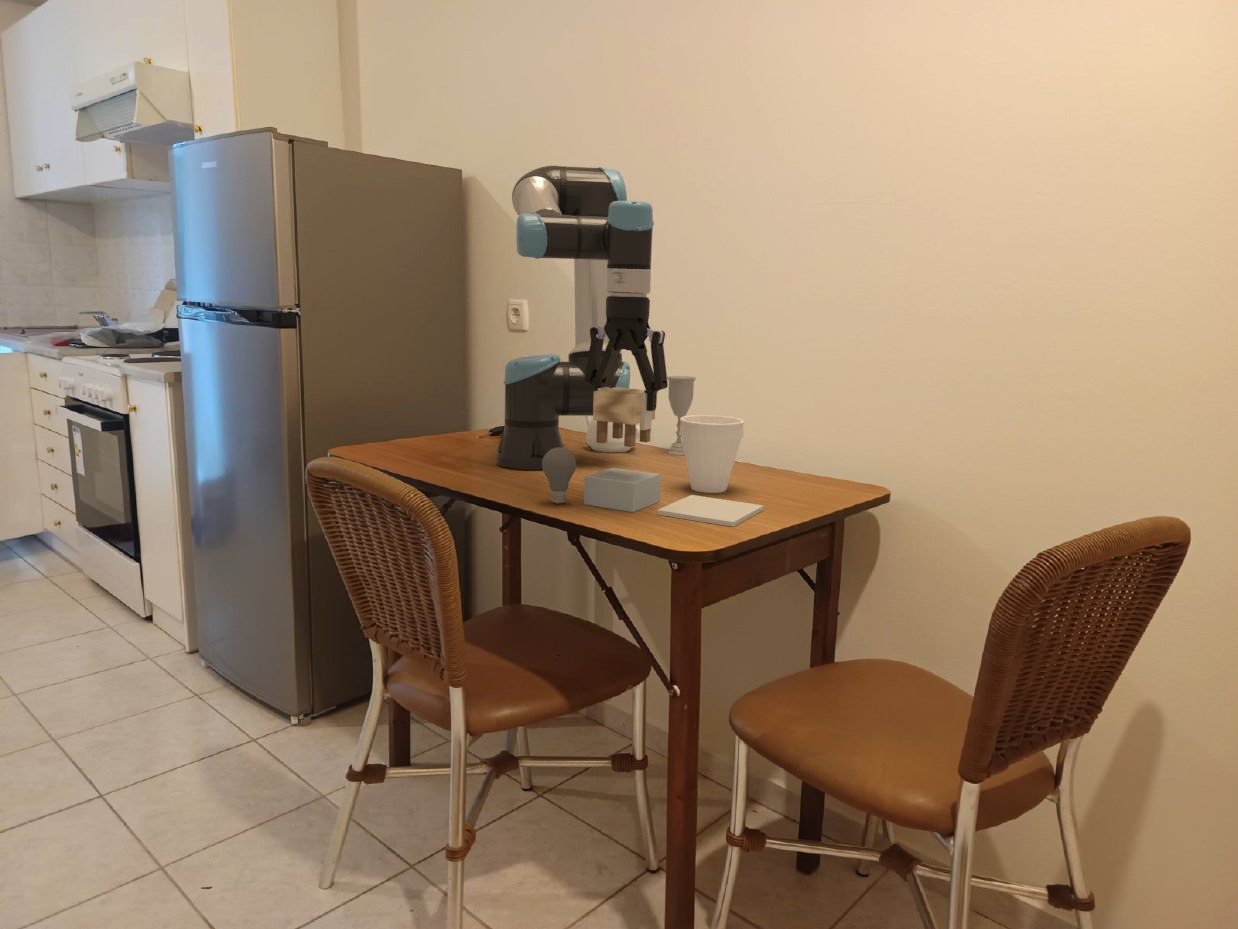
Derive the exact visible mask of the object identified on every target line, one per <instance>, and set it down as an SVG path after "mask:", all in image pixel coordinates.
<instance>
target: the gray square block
mask: <svg viewBox="0 0 1238 929" xmlns="http://www.w3.org/2000/svg"><path fill="white" fill-rule="evenodd" d="M583 478H584V480H583V481H584V482H583V505H586V506H591V507H592V506H593V507H599V508H605V509H611V510H616V511H623V512H628V513H629V512H630V513H635V512H637V511H640V510H643V509H645V508H647V507H649V506H651V505H654V504H657V503H660V502H661V483H662V482H661V481H662V480H661V478H662V475H661V473H654V472H647V471H641V470H640V471H638V470H631V469H625V468H617V467H610V468H608V469H603V470H601V471H597V472H595V473H592V474H589V475H585V476H583Z"/></svg>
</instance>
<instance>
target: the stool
mask: <svg viewBox="0 0 1238 929" xmlns="http://www.w3.org/2000/svg"><path fill="white" fill-rule="evenodd" d="M645 390H646V389H637V388H630V387H629V388H619V387H615V388H610V389H605V390H599V391H594V399H593V416H592V418H593V420H597V437H596V442H597V443H606V442H607V434H608V422H613V433H612V438H617V439H620V438H623V424H625V434H624V446H627V447H632V448H633V447H635V446H636V444H635V435H636V425H638V424H640V423H641V396H642V394H641V393H642V392H644V391H645ZM655 417H656V410H654V411H652V421H653V420H656V418H655ZM651 430H652V428H651V429H647V430H640V437H639V442H641V443H649V442H651V432H652V431H651Z"/></svg>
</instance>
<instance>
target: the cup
mask: <svg viewBox="0 0 1238 929" xmlns="http://www.w3.org/2000/svg"><path fill="white" fill-rule="evenodd" d="M680 421H681V423H680V432H679V434H680V435H681V441H682V443H683V447H684V453H685V455H684V456H685V462H686V469H687V472H688V479H689V483H690V488H691V490H692V491H695V492H699V493H707V494H715V493H717V494H718V493H723V492H726V491H727V488H728V485H729V482H730V478H731V475H732V471H733V467H734V464H735V461H736V457H737V455H738V454H737V453H738V451H739V450H738V449H739V446H740V444H741V440H742V438H744V423H745V422H744V420H743V419H741V418H738V417H734V416H728V415H727V416H725V415H717V414H716V415H714V414H713V415H711V414H710V415H709V414H694V415H685V416H683V417H681V418H680Z"/></svg>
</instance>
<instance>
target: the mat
mask: <svg viewBox="0 0 1238 929" xmlns="http://www.w3.org/2000/svg"><path fill="white" fill-rule="evenodd" d="M764 510H765V505H763V504H757V503H750V502H749V503H748V502H742V501H737V500H736V501H735V500H728V499H721V498H715V497H710V496H709V497H708V496H701V495H694V494H690V495H688V496H685V497H683V498H681V499H679V500H677V501H674V502H671V503H670V504H667V505H665V506H663V507H659V508H658V509H656V515H659V516H664V517H670V518H677V519H682V520H689V521H694V522H695V521H696V522H701V523H707V524H713V525H720V526H726V527H730V528H731V527H732V528H735V527H736V526H737V525H739V524H741V523H743V522H745V521H747V520H748V519H750V518H752V517H754V516H756V515H758V514H759V513H761V512H763V511H764Z"/></svg>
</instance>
